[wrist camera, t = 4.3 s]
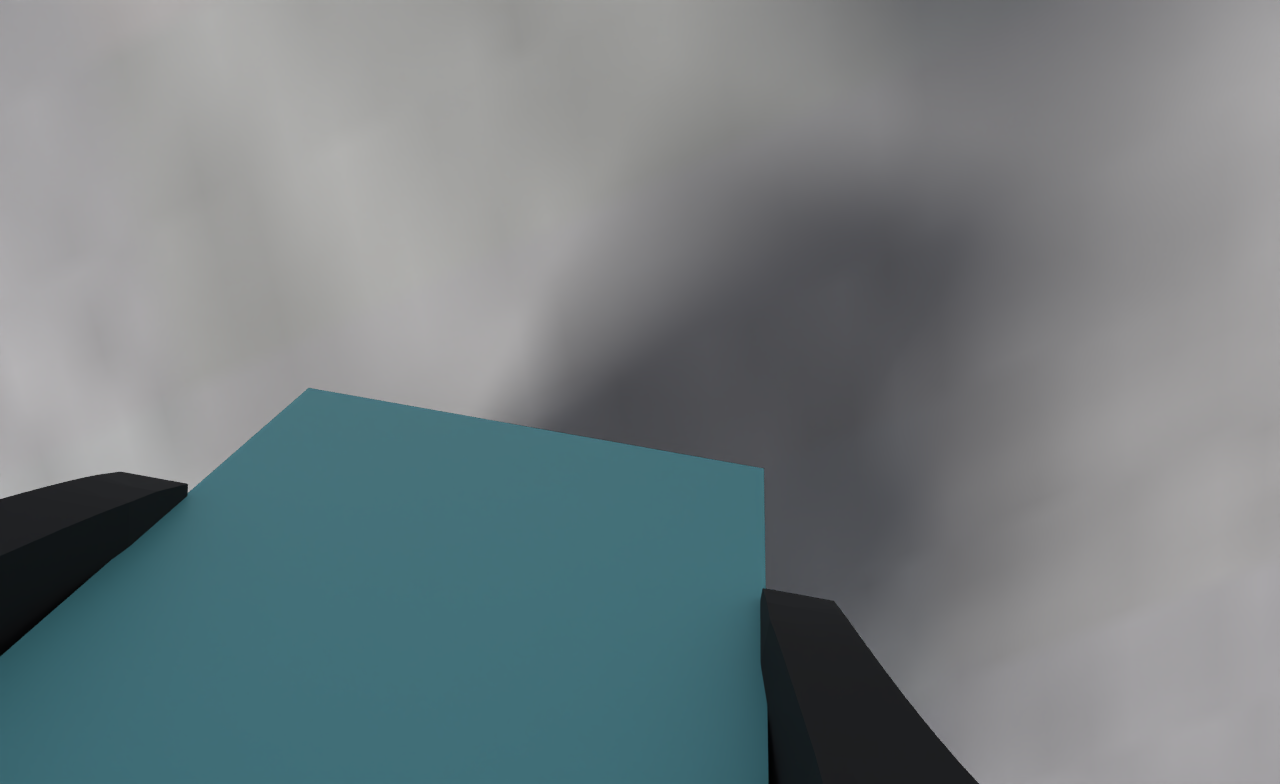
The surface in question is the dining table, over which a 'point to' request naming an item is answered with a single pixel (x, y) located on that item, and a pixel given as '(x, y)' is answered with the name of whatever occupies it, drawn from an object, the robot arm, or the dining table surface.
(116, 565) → the teal domino
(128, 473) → the robot arm
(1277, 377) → the dining table surface
